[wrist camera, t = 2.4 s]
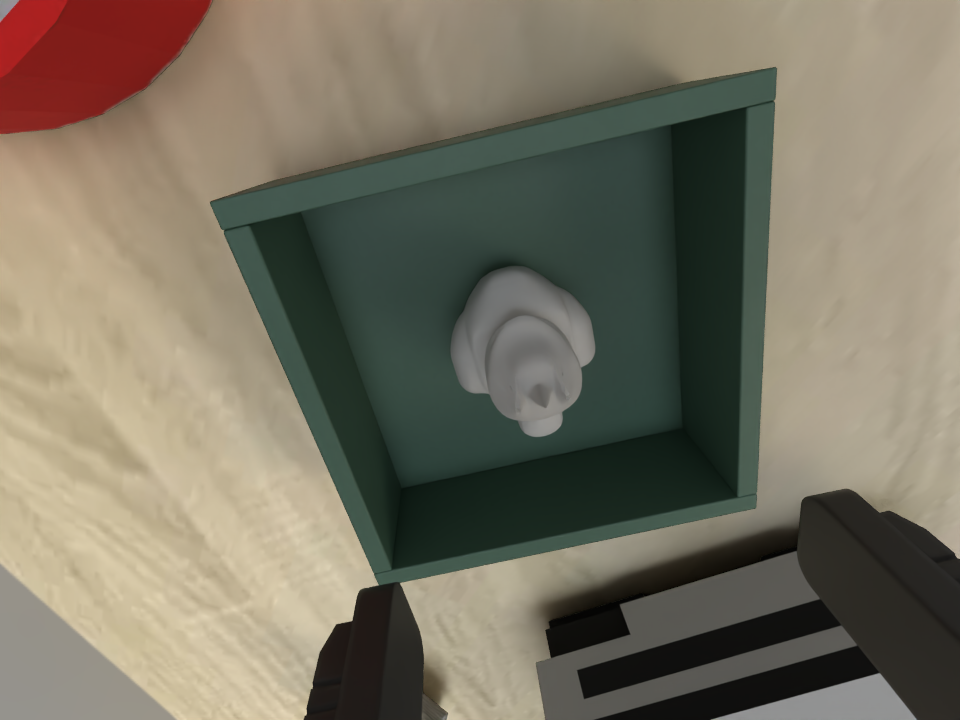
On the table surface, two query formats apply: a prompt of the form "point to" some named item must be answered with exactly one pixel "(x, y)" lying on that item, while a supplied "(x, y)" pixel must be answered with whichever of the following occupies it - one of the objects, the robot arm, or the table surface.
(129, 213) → the table surface
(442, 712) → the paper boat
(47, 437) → the table surface
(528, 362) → the grey rounded piece
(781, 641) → the game console
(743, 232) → the box
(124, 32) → the toy clock
